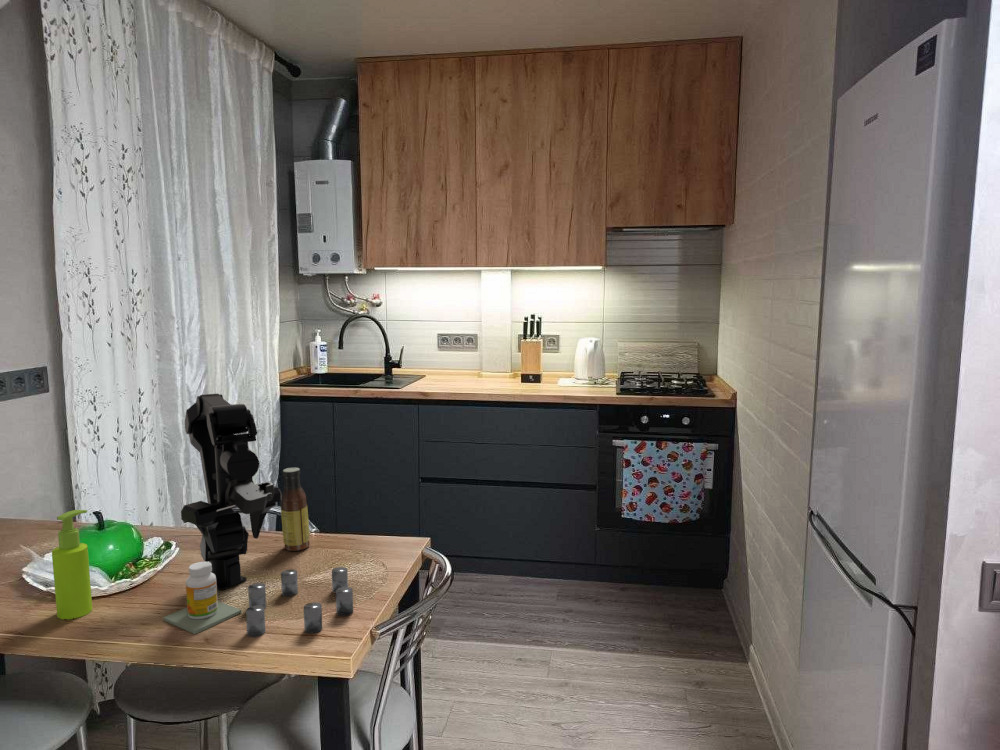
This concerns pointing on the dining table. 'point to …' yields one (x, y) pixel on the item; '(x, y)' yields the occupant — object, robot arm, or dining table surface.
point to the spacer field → (311, 610)
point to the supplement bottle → (201, 591)
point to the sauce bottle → (294, 512)
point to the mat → (199, 625)
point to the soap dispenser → (71, 571)
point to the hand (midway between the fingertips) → (235, 544)
